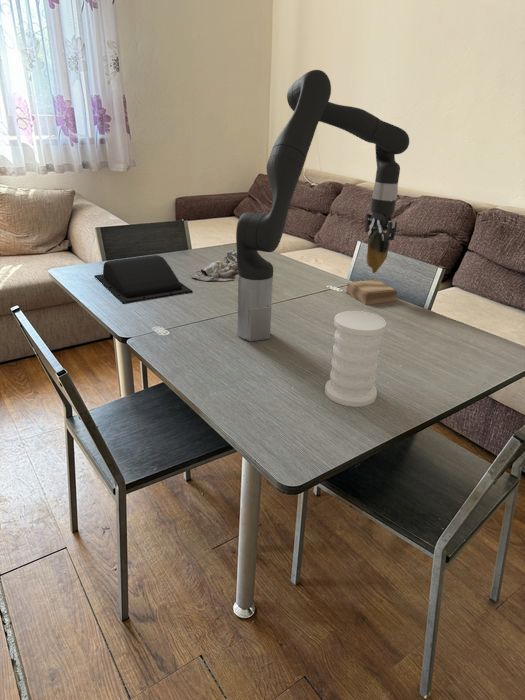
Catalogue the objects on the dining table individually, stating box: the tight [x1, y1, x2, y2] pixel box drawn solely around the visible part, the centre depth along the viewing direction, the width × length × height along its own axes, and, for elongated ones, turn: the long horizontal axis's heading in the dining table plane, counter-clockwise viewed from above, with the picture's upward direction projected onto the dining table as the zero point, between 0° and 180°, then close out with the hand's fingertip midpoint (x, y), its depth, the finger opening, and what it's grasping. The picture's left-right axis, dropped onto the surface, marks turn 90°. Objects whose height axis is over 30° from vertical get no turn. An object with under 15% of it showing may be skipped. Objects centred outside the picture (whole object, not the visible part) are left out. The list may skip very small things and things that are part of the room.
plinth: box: [346, 279, 398, 305], centre depth 175 cm, size 12×12×4 cm
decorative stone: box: [366, 229, 390, 274], centre depth 169 cm, size 10×6×15 cm, turn 131°
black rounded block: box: [94, 254, 193, 305], centre depth 176 cm, size 24×8×30 cm
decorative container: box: [324, 310, 387, 408], centre depth 112 cm, size 12×12×18 cm
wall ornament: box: [189, 249, 239, 282], centre depth 192 cm, size 19×10×30 cm
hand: (376, 249), depth 168 cm, fingers closed on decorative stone, 6 cm apart
